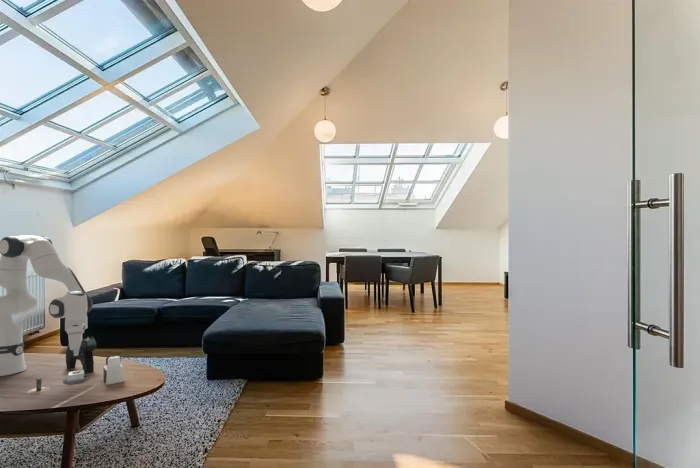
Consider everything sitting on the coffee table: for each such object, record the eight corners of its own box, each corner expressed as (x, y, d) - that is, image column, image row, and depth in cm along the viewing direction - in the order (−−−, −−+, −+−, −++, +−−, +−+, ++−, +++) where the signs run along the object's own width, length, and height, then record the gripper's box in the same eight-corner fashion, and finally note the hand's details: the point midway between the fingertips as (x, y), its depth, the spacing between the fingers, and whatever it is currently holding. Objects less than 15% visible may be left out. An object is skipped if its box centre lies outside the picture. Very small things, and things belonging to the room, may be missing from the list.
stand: (22, 395, 172) (22, 381, 172) (38, 388, 180) (38, 375, 180) (39, 396, 172) (39, 382, 172) (54, 389, 180) (54, 375, 180)
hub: (57, 385, 184) (57, 377, 184) (74, 378, 194) (74, 369, 194) (78, 386, 183) (78, 377, 183) (93, 378, 193) (93, 370, 193)
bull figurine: (97, 371, 204) (97, 332, 204) (84, 375, 198) (84, 334, 198) (74, 366, 212) (74, 328, 213) (61, 369, 207) (61, 331, 207)
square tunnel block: (68, 382, 184) (68, 375, 184) (69, 378, 190) (69, 371, 190) (83, 379, 188) (83, 373, 188) (84, 375, 193) (84, 369, 193)
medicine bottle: (103, 381, 190) (103, 355, 190) (120, 377, 194) (120, 353, 194) (106, 385, 184) (106, 359, 184) (123, 381, 189) (123, 356, 189)
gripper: (70, 322, 196) (70, 350, 196) (66, 330, 178) (66, 361, 178) (85, 321, 199) (85, 348, 199) (83, 328, 182) (83, 359, 182)
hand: (76, 355), depth 189 cm, fingers closed
